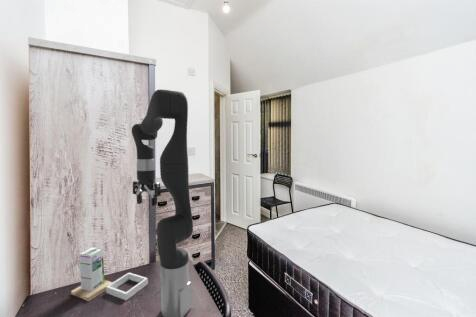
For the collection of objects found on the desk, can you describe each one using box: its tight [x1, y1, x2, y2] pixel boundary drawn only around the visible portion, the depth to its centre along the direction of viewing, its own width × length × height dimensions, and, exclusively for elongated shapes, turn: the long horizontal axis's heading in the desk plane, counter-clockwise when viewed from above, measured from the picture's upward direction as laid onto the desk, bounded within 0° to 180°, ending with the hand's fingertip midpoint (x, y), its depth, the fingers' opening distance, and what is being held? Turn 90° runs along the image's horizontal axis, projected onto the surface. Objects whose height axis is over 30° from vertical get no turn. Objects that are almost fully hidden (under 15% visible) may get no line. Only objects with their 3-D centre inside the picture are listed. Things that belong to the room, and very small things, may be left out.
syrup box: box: [78, 247, 106, 291], centre depth 89 cm, size 6×6×14 cm
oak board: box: [70, 279, 114, 302], centre depth 89 cm, size 10×10×1 cm
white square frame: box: [105, 272, 149, 301], centre depth 90 cm, size 11×11×2 cm
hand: (146, 204), depth 102 cm, fingers open, 8 cm apart
